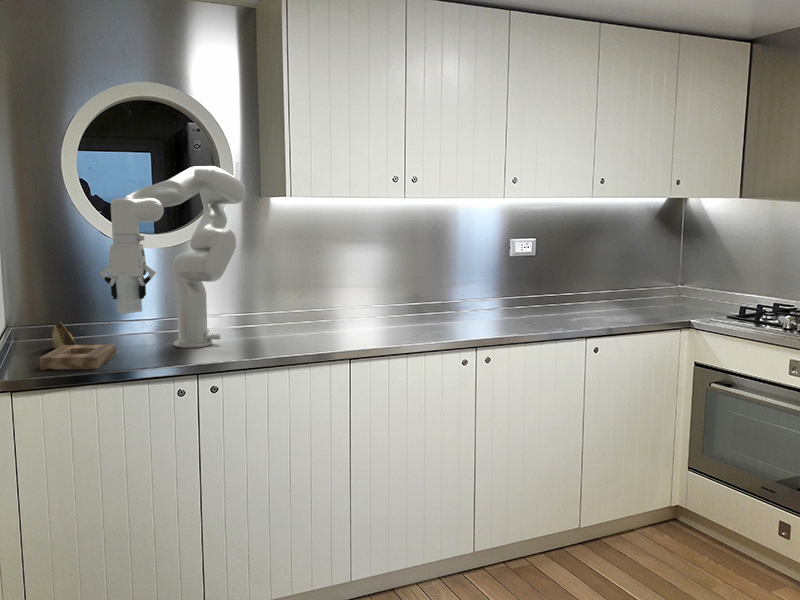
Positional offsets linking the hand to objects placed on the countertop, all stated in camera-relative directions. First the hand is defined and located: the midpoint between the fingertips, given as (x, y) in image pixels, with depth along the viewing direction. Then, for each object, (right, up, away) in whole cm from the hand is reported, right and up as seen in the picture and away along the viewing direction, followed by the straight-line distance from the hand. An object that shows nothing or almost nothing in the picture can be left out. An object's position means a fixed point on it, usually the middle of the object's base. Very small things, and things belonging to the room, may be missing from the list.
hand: (128, 298), depth 215 cm
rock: (-28, -17, +18) cm, 37 cm away
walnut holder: (-15, -19, 0) cm, 25 cm away
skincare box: (0, -4, +1) cm, 5 cm away
